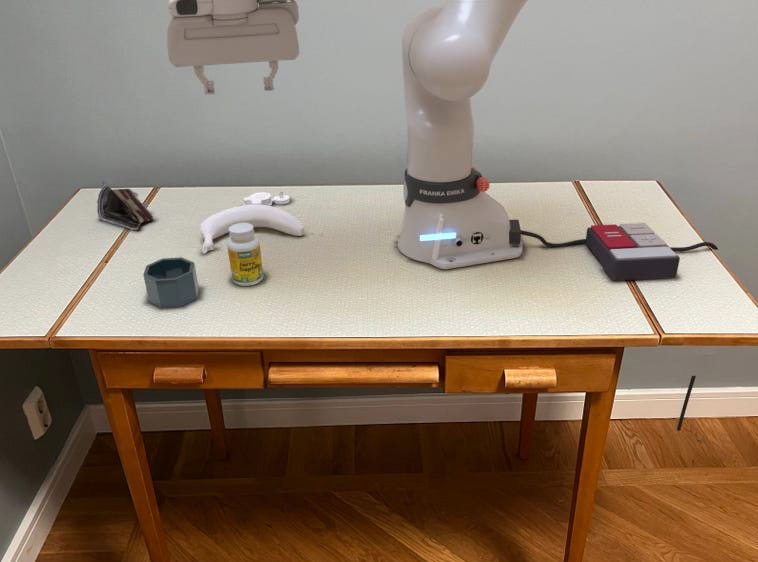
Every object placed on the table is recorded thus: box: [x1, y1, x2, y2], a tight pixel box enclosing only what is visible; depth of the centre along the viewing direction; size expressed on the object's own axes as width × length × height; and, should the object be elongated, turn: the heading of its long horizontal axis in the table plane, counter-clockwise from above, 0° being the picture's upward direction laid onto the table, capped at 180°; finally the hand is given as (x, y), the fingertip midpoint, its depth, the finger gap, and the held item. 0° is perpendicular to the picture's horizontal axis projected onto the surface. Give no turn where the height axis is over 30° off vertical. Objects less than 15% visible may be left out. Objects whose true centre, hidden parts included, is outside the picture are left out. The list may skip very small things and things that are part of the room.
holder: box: [143, 256, 200, 309], centre depth 122 cm, size 8×8×5 cm
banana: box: [199, 205, 304, 254], centre depth 139 cm, size 5×19×15 cm
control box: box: [585, 222, 681, 281], centre depth 129 cm, size 11×4×15 cm
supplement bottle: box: [226, 223, 264, 287], centre depth 124 cm, size 5×5×10 cm
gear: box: [233, 191, 291, 206], centre depth 153 cm, size 9×9×2 cm
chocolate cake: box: [96, 181, 154, 231], centre depth 149 cm, size 10×7×12 cm
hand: (239, 91), depth 120 cm, fingers open, 8 cm apart
